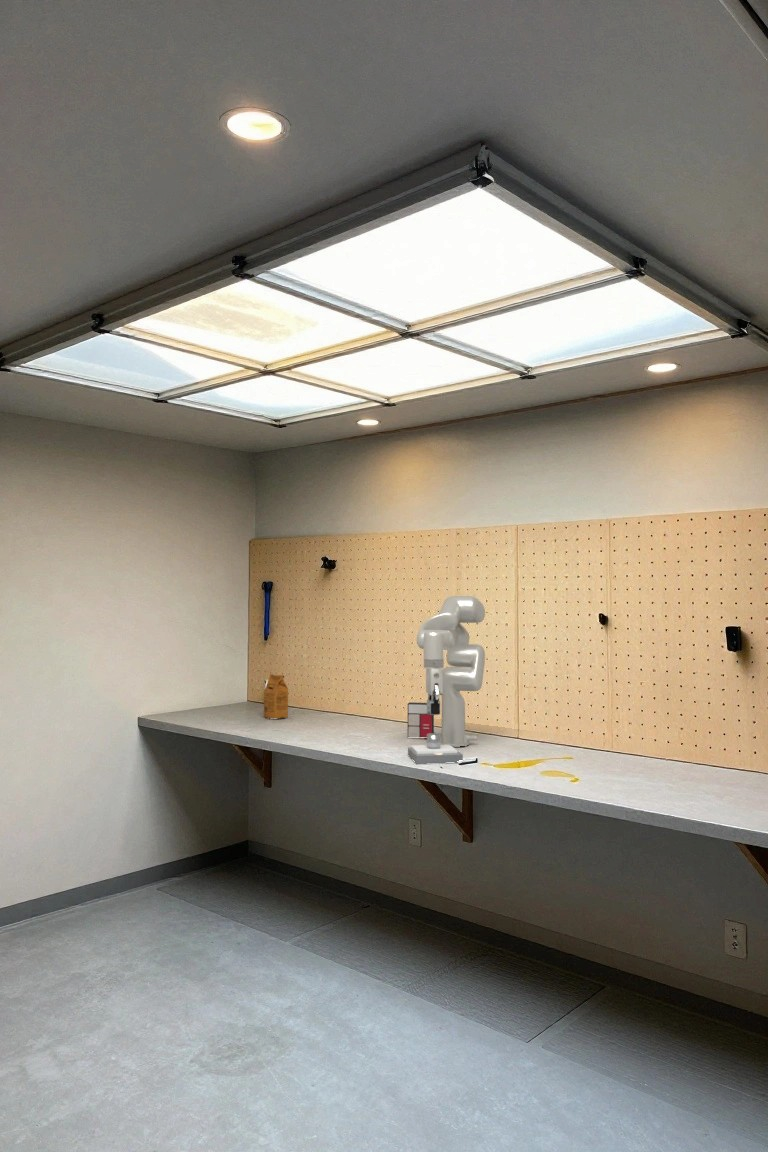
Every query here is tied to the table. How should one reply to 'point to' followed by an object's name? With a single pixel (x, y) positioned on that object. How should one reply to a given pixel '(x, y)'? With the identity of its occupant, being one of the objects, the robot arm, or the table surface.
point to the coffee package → (276, 697)
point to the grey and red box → (419, 720)
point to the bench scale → (434, 754)
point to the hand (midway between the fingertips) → (433, 712)
